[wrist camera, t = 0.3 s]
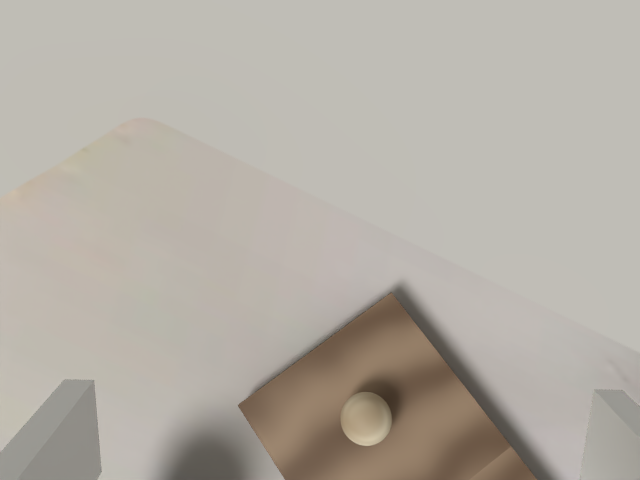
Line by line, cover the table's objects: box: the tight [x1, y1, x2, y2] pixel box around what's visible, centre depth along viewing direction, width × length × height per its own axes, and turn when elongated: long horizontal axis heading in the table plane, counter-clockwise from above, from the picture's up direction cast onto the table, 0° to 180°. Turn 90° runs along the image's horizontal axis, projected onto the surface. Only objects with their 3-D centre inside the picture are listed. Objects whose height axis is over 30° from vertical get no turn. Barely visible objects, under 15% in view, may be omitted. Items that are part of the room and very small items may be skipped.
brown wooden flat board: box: [238, 293, 537, 480], centre depth 46 cm, size 24×16×2 cm, turn 36°
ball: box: [340, 392, 392, 446], centre depth 44 cm, size 4×4×4 cm
